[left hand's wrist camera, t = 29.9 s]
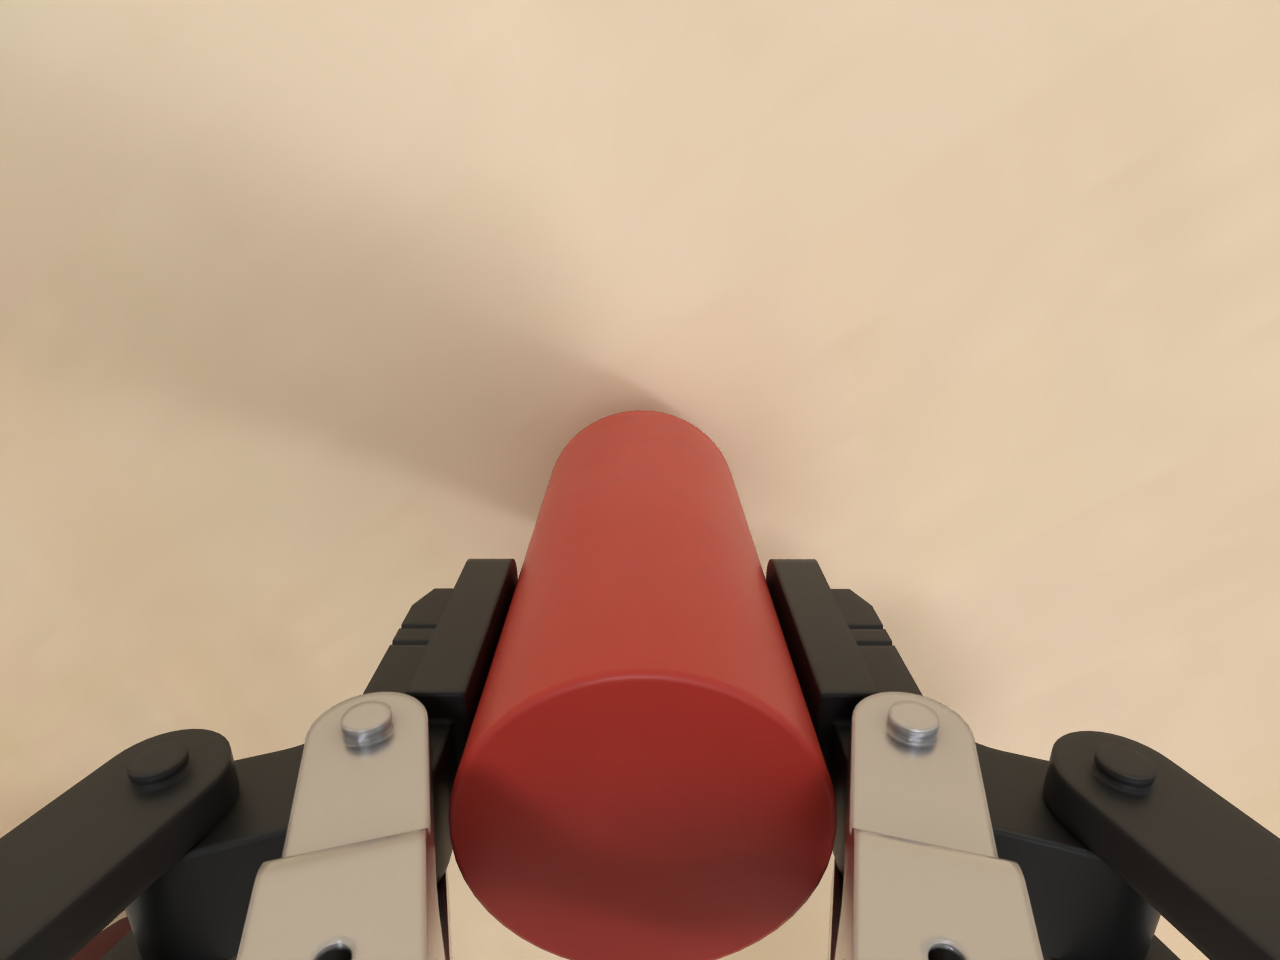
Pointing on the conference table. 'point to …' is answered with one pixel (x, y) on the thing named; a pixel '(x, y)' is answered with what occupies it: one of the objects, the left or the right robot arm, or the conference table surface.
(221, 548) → the conference table surface
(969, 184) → the conference table surface
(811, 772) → the can
